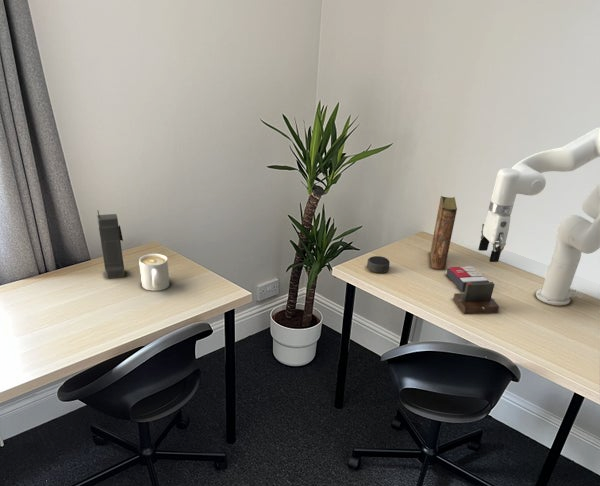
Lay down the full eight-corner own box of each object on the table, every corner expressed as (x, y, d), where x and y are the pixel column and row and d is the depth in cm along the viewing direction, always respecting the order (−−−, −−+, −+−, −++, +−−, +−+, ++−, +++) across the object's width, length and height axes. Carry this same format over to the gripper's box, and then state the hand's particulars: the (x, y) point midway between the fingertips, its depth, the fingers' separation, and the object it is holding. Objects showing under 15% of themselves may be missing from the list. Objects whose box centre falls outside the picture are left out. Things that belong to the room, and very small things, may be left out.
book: (444, 270, 248) (457, 210, 233) (431, 269, 248) (442, 208, 233) (443, 254, 261) (454, 196, 246) (430, 253, 261) (441, 195, 246)
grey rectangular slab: (488, 298, 224) (492, 281, 220) (490, 300, 222) (494, 283, 218) (462, 298, 222) (466, 282, 218) (464, 301, 221) (468, 284, 217)
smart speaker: (362, 269, 245) (363, 259, 243) (375, 262, 251) (376, 253, 248) (380, 276, 241) (381, 266, 238) (392, 269, 246) (394, 260, 244)
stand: (485, 296, 231) (487, 290, 229) (501, 314, 220) (502, 308, 218) (450, 297, 228) (451, 291, 227) (463, 315, 217) (465, 309, 216)
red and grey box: (472, 265, 244) (490, 279, 232) (470, 275, 247) (487, 290, 235) (447, 266, 242) (463, 281, 230) (445, 276, 245) (461, 291, 233)
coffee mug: (144, 278, 229) (141, 253, 223) (171, 279, 229) (168, 254, 223) (138, 294, 218) (135, 268, 212) (166, 295, 219) (163, 269, 213)
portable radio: (126, 270, 234) (118, 205, 218) (128, 276, 229) (119, 211, 214) (105, 271, 231) (95, 207, 216) (106, 278, 227) (96, 213, 212)
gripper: (522, 217, 197) (508, 266, 207) (500, 199, 211) (488, 246, 221) (500, 217, 196) (487, 266, 206) (480, 199, 210) (468, 246, 220)
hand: (488, 255), depth 214 cm, fingers open, 9 cm apart
